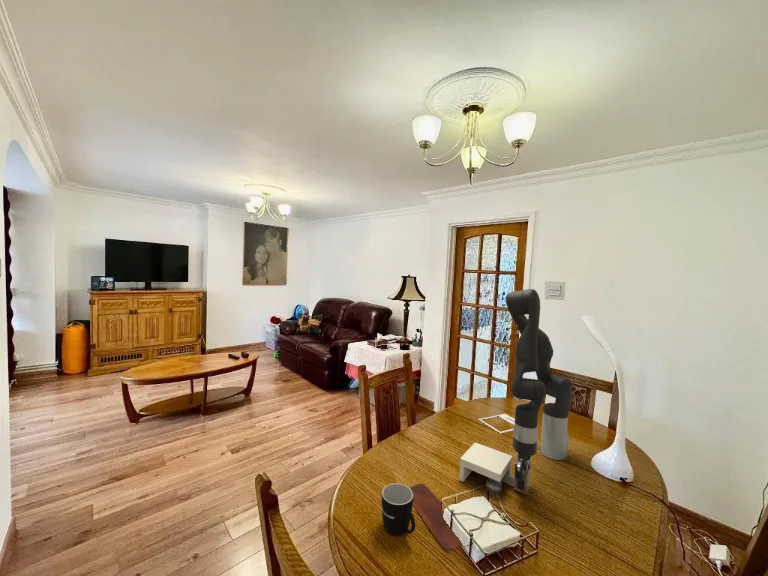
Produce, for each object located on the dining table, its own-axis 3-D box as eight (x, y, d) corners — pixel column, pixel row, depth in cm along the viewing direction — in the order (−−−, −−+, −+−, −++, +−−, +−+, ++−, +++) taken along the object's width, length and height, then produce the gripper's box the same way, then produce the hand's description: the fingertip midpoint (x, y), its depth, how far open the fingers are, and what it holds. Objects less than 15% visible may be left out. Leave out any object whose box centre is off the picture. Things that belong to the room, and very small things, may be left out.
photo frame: (527, 425, 155) (500, 432, 147) (527, 427, 155) (500, 434, 147) (504, 413, 168) (478, 418, 161) (504, 415, 168) (478, 420, 161)
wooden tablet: (476, 544, 86) (476, 539, 86) (446, 556, 82) (446, 550, 82) (425, 483, 111) (425, 479, 111) (400, 490, 107) (400, 485, 107)
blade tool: (529, 488, 108) (530, 465, 108) (526, 494, 105) (527, 471, 105) (479, 467, 119) (480, 447, 118) (475, 473, 116) (476, 451, 115)
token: (488, 481, 112) (488, 475, 112) (502, 488, 109) (503, 481, 109) (483, 489, 108) (484, 482, 108) (498, 496, 105) (499, 489, 105)
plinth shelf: (511, 477, 115) (512, 456, 115) (498, 498, 104) (500, 474, 104) (474, 462, 124) (475, 442, 123) (459, 480, 112) (460, 458, 112)
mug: (374, 523, 91) (375, 490, 91) (398, 511, 97) (399, 479, 96) (400, 554, 82) (401, 516, 81) (425, 538, 87) (427, 503, 86)
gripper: (519, 425, 115) (516, 471, 116) (507, 441, 104) (504, 491, 104) (541, 432, 110) (538, 480, 111) (532, 449, 99) (528, 502, 100)
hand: (522, 485), depth 108 cm, fingers closed on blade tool, 4 cm apart
